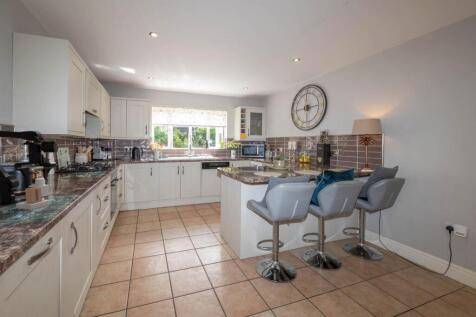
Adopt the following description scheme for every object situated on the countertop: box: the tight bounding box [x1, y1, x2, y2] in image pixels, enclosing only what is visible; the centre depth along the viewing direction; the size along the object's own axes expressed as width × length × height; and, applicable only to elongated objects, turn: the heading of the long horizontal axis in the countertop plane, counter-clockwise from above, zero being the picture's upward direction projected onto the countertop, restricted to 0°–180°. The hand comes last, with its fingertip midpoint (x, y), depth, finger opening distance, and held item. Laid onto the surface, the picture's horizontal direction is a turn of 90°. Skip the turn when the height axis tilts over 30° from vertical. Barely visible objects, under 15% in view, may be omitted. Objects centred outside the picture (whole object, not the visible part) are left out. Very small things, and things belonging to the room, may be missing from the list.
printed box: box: [28, 177, 50, 198], centre depth 143 cm, size 7×7×12 cm
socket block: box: [15, 199, 52, 211], centre depth 122 cm, size 10×10×2 cm
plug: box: [24, 187, 43, 204], centre depth 122 cm, size 5×4×10 cm
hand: (36, 179), depth 130 cm, fingers open, 9 cm apart
